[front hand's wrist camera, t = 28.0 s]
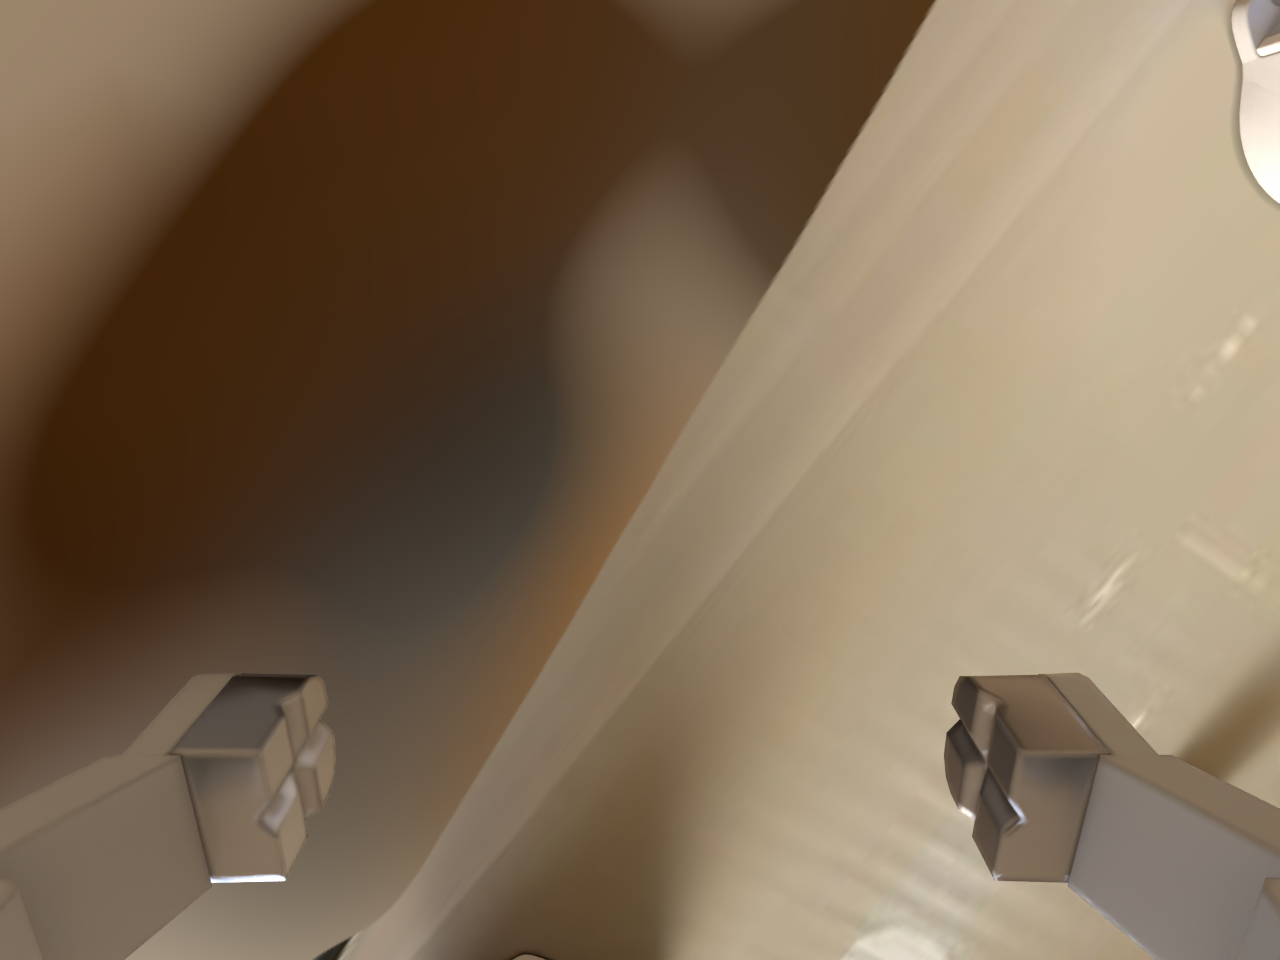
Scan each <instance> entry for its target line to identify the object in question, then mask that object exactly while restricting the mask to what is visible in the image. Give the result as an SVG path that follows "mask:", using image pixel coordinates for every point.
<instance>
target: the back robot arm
mask: <svg viewBox="0 0 1280 960" xmlns="http://www.w3.org/2000/svg"><path fill="white" fill-rule="evenodd" d="M513 960H545V959H543V958H540V957H537V956H533V955H521V956H518V957H516V958H515V959H513Z"/></svg>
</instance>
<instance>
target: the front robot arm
mask: <svg viewBox="0 0 1280 960" xmlns="http://www.w3.org/2000/svg"><path fill="white" fill-rule="evenodd" d="M1232 30H1233V34H1234V39H1235V42H1236V46H1237V49H1238V52H1239V55H1240V58H1241V61H1242V65H1243V81H1242V91H1241V100H1240V114H1239V121H1240V135H1241V141H1242V146H1243V150H1244V154H1245V157H1246V160H1247V162H1248V165H1249V167H1250V169H1251V171H1252V173H1253V175H1254V177H1255V178H1256V180H1257V181H1258V183H1259V184H1260V185H1261V187H1262V188H1263V189H1264V190H1265V191H1266V192H1267V193H1268V194H1269V195H1270V196H1271V197H1272V198H1273V199H1274V200H1275V201H1277V202H1278V203H1279V204H1280V0H1237V1H1236V3H1235V5H1234V8H1233V11H1232ZM951 704H952V705H953V707H954V709H955V711H956V712H957V714H958V716H959V717H960V720H959V721H958V722H957V723H956V724H955V725H954V726H953V727H952V728H951V729H950V730H949V731H948V732H947V734H946V742H945V750H944V761H945V772H946V779H947V782H948V786H949V789H950V792H951V795H952V797H953V799H954V801H955V803H956V805H957V807H958V809H959V810H961V811H962V812H964V813H965V814H966V815H968V816H969V817H971V818H972V819H974V820H975V823H974V829H973V834H972V837H973V839H974V841H975V843H976V845H977V847H978V849H979V851H980V853H981V855H982V857H983V859H984V861H985V863H986V864H987V866H988V868H989V870H990V872H991V874H992V876H993V878H994V880H995V881H1029V882H1065V883H1068V887H1070V888H1071V889H1072V890H1073V891H1074V892H1075V893H1077V894H1078V895H1079V896H1080V897H1081V898H1083V899H1084V900H1085V901H1086V902H1087V903H1089V904H1090V905H1091V906H1092V907H1093V908H1095V909H1096V910H1097V911H1098V912H1099V913H1101V914H1102V915H1103V916H1104V917H1105V918H1107V919H1108V920H1109V921H1110V922H1111V923H1113V924H1114V925H1115V926H1116V927H1117V928H1119V929H1120V930H1121V931H1122V932H1123V933H1124V934H1126V935H1127V936H1128V937H1129V938H1130V939H1132V940H1133V941H1134V942H1135V943H1136V944H1138V945H1139V946H1140V947H1141V948H1142V949H1144V950H1145V951H1146V952H1147V953H1148V954H1150V955H1151V956H1152V957H1153V958H1154V959H1156V960H1280V809H1279V808H1277V807H1275V806H1273V805H1271V804H1269V803H1267V802H1265V801H1263V800H1261V799H1259V798H1257V797H1255V796H1253V795H1251V794H1249V793H1247V792H1245V791H1243V790H1241V789H1239V788H1237V787H1235V786H1233V785H1231V784H1229V783H1227V782H1225V781H1223V780H1221V779H1219V778H1217V777H1215V776H1213V775H1211V774H1209V773H1206V772H1204V771H1202V770H1200V769H1198V768H1196V767H1194V766H1192V765H1190V764H1188V763H1186V762H1184V761H1182V760H1180V759H1178V758H1176V757H1174V756H1172V755H1158V754H1157V753H1156V752H1155V751H1154V750H1153V748H1152V747H1151V746H1150V745H1149V744H1148V743H1147V742H1146V741H1145V740H1144V738H1143V737H1142V736H1141V735H1140V734H1139V733H1138V732H1137V731H1136V730H1135V729H1134V727H1133V726H1132V725H1131V724H1130V723H1129V722H1128V721H1127V720H1126V719H1125V717H1124V716H1123V715H1122V714H1121V713H1120V712H1119V711H1118V710H1117V709H1116V708H1115V706H1114V705H1113V704H1112V703H1111V702H1110V701H1109V700H1108V699H1107V698H1106V696H1105V695H1104V694H1103V693H1102V692H1101V691H1100V690H1099V689H1098V688H1097V686H1096V685H1095V684H1094V683H1093V682H1092V681H1091V680H1090V679H1089V678H1088V677H1086V676H1084V675H1082V674H1080V673H1057V674H1039V675H1001V676H960V677H959V679H958V681H957V683H956V685H955V687H954V692H953V698H952V703H951ZM327 705H328V699H327V694H326V689H325V684H324V681H323V680H322V679H321V678H320V677H319V676H317V675H288V674H236V673H203V674H200V675H196V676H193V677H192V678H191V679H190V680H189V681H188V682H187V683H186V684H185V685H184V687H183V688H182V689H181V690H180V691H179V692H178V693H177V694H176V695H175V696H174V698H173V699H172V700H171V701H170V702H169V703H168V704H167V705H166V706H165V708H164V709H163V710H162V711H161V712H160V713H159V714H158V715H157V716H156V717H155V719H154V720H153V721H152V722H151V723H150V724H149V725H148V726H147V727H146V729H145V730H144V731H143V732H142V733H141V734H140V735H139V736H138V737H137V738H136V740H135V741H134V742H133V743H132V744H131V745H130V746H129V747H128V748H127V750H126V751H125V752H124V753H123V754H122V755H108V756H106V757H104V758H102V759H100V760H98V761H96V762H94V763H92V764H90V765H88V766H86V767H84V768H82V769H80V770H78V771H76V772H73V773H71V774H69V775H67V776H65V777H63V778H61V779H59V780H57V781H55V782H53V783H51V784H49V785H47V786H45V787H43V788H41V789H39V790H37V791H35V792H33V793H31V794H29V795H27V796H25V797H23V798H21V799H19V800H17V801H15V802H13V803H11V804H9V805H7V806H5V807H3V808H1V809H0V960H125V959H126V958H127V957H128V956H129V955H131V954H132V953H133V952H134V951H135V950H137V949H138V948H139V947H140V946H141V945H143V944H144V943H145V942H146V941H147V940H149V939H150V938H151V937H152V936H153V935H155V934H156V933H157V932H158V931H159V930H161V929H162V928H163V927H164V926H165V925H167V924H168V923H169V922H170V921H171V920H173V919H174V918H175V917H176V916H177V915H179V914H180V913H181V912H182V911H183V910H185V909H186V908H187V907H188V906H189V905H191V904H192V903H193V902H194V901H195V900H196V899H198V898H199V897H200V896H201V895H202V894H204V893H205V892H206V891H207V890H208V889H210V888H211V887H212V883H215V882H249V881H283V880H286V878H287V876H288V874H289V872H290V870H291V868H292V867H293V865H294V863H295V861H296V859H297V857H298V855H299V853H300V851H301V849H302V847H303V845H304V843H305V841H306V839H307V837H308V835H307V829H306V823H305V820H306V819H308V818H309V817H311V816H312V815H314V814H315V813H316V812H318V811H319V810H321V809H322V807H323V805H324V803H325V801H326V799H327V797H328V795H329V792H330V790H331V785H332V781H333V776H334V772H335V763H336V748H335V741H334V734H333V732H332V731H331V730H330V729H329V728H328V727H327V726H326V725H325V724H324V723H323V722H322V721H321V720H320V717H321V716H322V714H323V712H324V711H325V709H326V707H327Z"/></svg>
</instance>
